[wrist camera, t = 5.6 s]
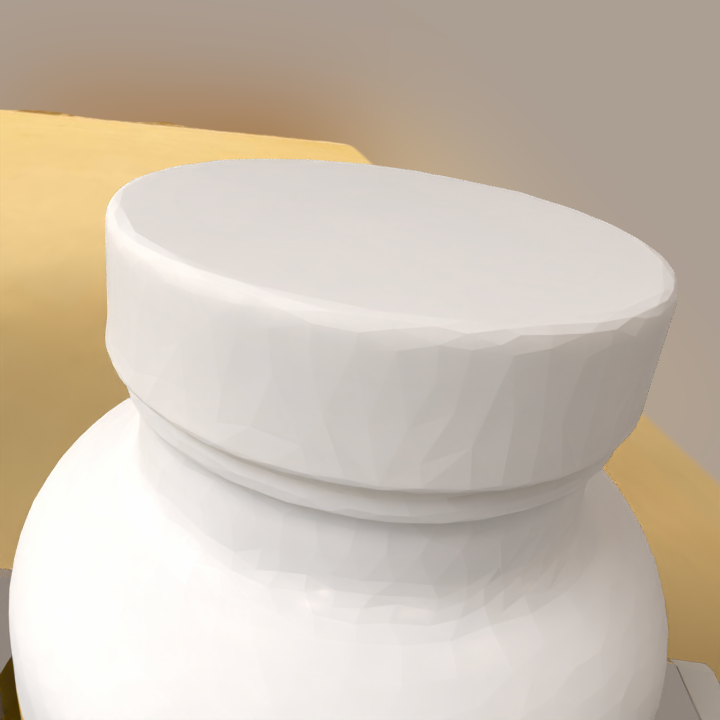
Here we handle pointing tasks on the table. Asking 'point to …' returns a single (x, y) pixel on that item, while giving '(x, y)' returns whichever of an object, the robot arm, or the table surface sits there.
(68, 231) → the table surface
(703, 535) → the table surface
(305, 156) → the table surface
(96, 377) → the table surface
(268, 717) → the supplement bottle
